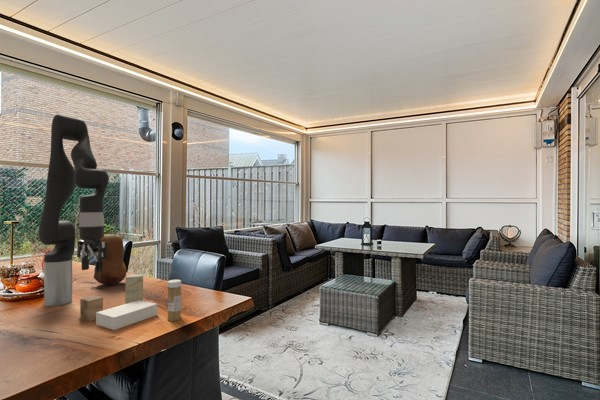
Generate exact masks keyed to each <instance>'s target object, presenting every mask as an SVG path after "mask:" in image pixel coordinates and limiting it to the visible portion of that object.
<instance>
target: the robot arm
mask: <svg viewBox="0 0 600 400" xmlns="http://www.w3.org/2000/svg"><path fill="white" fill-rule="evenodd" d="M88 129H89V128H88V126H87V124H86V121H85V120H83V119H81V118H78V117H74V116H73V117H72V116H68V115H66V114H58V113H57V114H55V115H54V116H53V118H52V121H51V130H50V131H51V132H50V154H49V155H50V156H49V164H48V171H47V178H46V189H45V190H46V191H45V198H44V204H43V205H44V206H43V210H42V214H41V218H40V222H39V228H38V238H39V241H40V242H41V243H42V244H43V245H45V246H52V245H54V247H53V248H52V250H50V251H48V252H46V254H44V256H43V289H44V290H43V298H44V299H43V306H45V307H58V306H65V305H68V304H70V303H72V302H73V255H74V253H75V250H76V249H75V248H76V247H75V246H76V245H75V244H76V228H75V225H74V224H73V222H72V221H69V220H60V215H61V213H62V210H63V208H64V206H65V204H66V203H67V202H68V201H69V200H70V198H71V197H72V195H73V193H74V191H75V188H76V187H78V189H79V188H80V189H94V192H93V193H92V194H87V195H83V196H81V197H80V199H79V218H78V234H79V235H78V238H79V239H80V240H78V241H77V253H76V255H77V258H79V260H81V271H87V270H89V269H90V259H89V258H90V256H91V257H93V259H94V260H95V262H94V263H95V265H94V266H95V267H94V270H95V272H102V271H103V261H104V260H105V259H107V243H106V242H101V240H100V239H101V238H103V237H104V235H105V216H104V215H105V214H104V198H105V195H106V190H107V188H108V185H109V181H110V180H109V179H110V178H109V177H110V176H109V173H108V172H107V170H104V169H101V168H97V167H98V164H97V160H96V158H95V155H94V153H93V151H92V147H91V141H90V136H89V135H90V134H89V131H88ZM64 140H67V141H72V142H77V143H76V144H75V145H74V146H73V147H72V149H71V151H70V158H71V160H72V162H71V161H70V159H69V158H68V156H67V153H66V152H65V149H64ZM103 252H104V256H103ZM97 256H98V257H97Z"/></svg>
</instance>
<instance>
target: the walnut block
mask: <svg viewBox="0 0 600 400" xmlns="http://www.w3.org/2000/svg"><path fill="white" fill-rule="evenodd" d="M79 303H80V304H79V307H80V309H79V310H80V311H79V313H80V314H79V315H80V317H79V318H80V320H83V321H86V322H91V321H94V320H96V312H99V311H103V310H104V297H103V296H99V295H91V296H87V297H82V298H80V302H79Z"/></svg>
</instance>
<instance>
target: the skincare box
mask: <svg viewBox="0 0 600 400" xmlns="http://www.w3.org/2000/svg"><path fill="white" fill-rule="evenodd" d="M124 299H125V301H124V304H127V303H131V302H134V301H138V300H142V301H144V274H143V273H141V274H129V275H127V274H126V277H125V296H124Z"/></svg>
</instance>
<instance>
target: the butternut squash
mask: <svg viewBox="0 0 600 400" xmlns="http://www.w3.org/2000/svg"><path fill="white" fill-rule="evenodd" d="M100 240H101V242H106V243H107V259H105V260H104V261H103V271H102V272H95V269H94V271H93V272H94V273H93V278H94V280H95V281H96V282H97V283H99V284H100V285H107V284H108V286H115V285H114V284H116V285H117V284H119V283H122V281H124V280H125V279H126V275H127V267H126V265H125V262H124V251H125V248H124V239H123V237H122V236H121V235H120V234H114V233H113V234H111V233H109V234H108V233H107V234H104V237H103V238H101V239H100ZM103 256H104V252H103ZM97 257H98V256H97Z"/></svg>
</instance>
